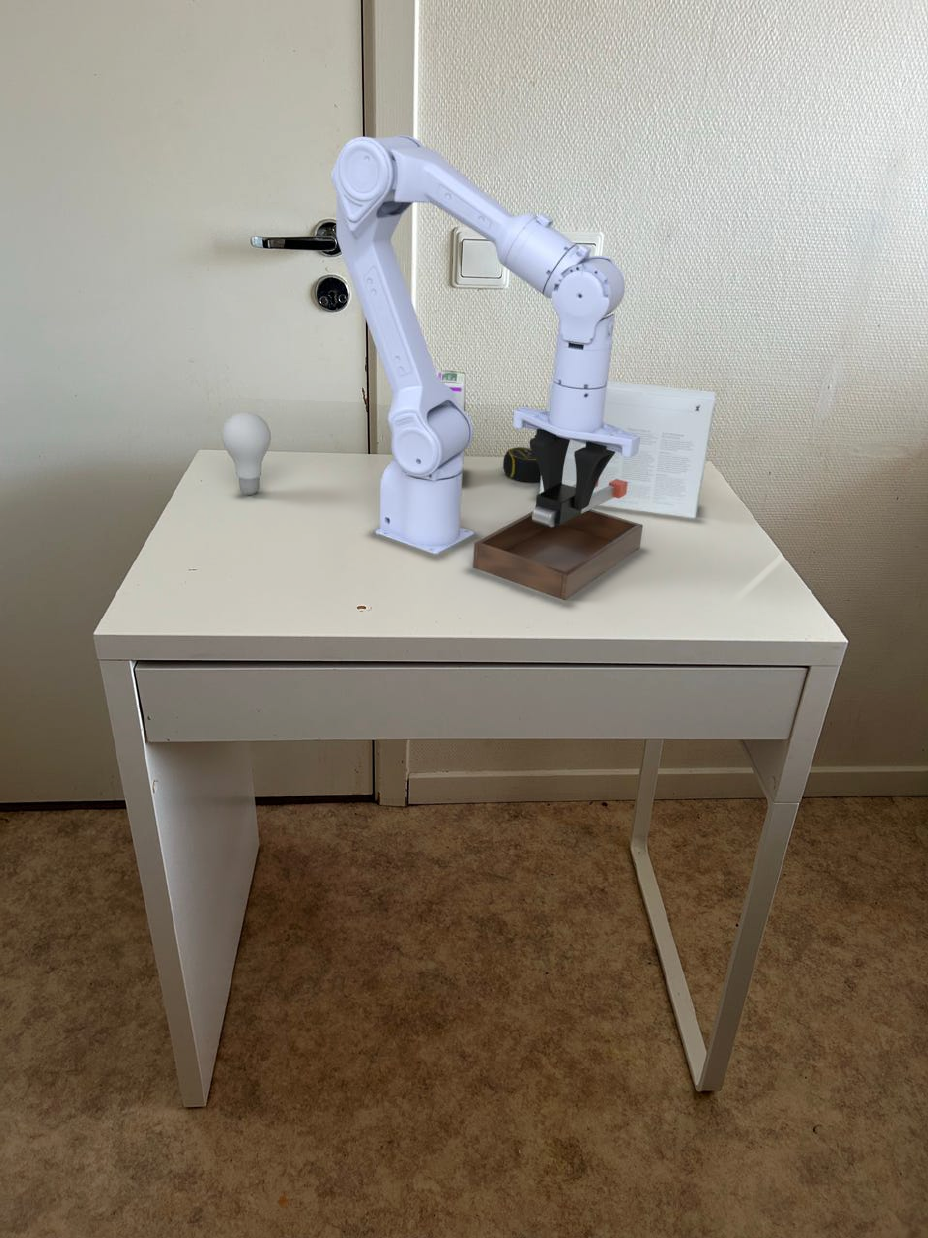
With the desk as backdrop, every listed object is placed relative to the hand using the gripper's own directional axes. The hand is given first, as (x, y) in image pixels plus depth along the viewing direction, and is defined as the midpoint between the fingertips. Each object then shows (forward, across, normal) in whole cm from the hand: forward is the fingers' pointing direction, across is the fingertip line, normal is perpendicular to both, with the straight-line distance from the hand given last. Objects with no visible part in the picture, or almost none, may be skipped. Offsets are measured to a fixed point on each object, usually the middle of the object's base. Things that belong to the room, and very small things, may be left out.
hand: (567, 502), depth 106 cm
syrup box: (+8, +28, -14) cm, 32 cm away
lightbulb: (+8, +42, +8) cm, 44 cm away
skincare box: (+8, +4, -23) cm, 25 cm away
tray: (+8, +1, -2) cm, 8 cm away
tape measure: (+8, +18, -23) cm, 30 cm away
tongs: (+1, 0, -2) cm, 2 cm away
